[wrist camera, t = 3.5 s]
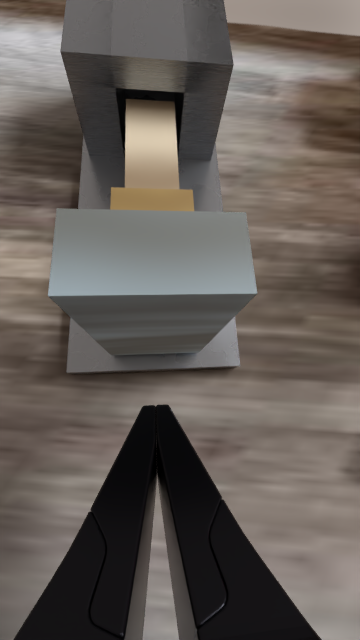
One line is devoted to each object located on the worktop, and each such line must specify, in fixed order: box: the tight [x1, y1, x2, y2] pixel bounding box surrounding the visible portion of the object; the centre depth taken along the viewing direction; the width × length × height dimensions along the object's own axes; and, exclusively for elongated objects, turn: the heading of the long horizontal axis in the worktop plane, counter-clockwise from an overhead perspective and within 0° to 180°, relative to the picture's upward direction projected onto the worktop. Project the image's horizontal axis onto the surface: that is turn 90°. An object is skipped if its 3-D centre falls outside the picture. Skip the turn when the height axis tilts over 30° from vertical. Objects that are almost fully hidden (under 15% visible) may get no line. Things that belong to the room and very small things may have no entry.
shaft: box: [48, 99, 257, 355], centre depth 13 cm, size 15×5×9 cm, turn 3°
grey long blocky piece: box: [61, 0, 240, 374], centre depth 16 cm, size 24×10×7 cm, turn 3°
